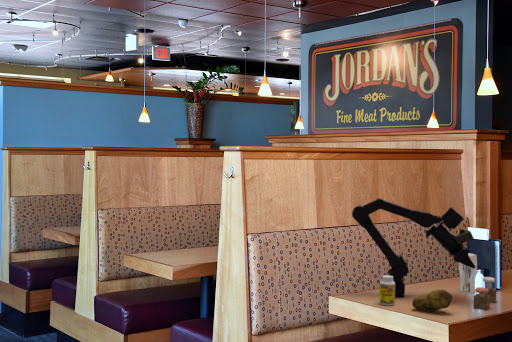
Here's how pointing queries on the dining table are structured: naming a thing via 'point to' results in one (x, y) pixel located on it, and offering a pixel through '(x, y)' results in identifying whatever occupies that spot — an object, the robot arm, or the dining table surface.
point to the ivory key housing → (492, 295)
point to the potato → (433, 301)
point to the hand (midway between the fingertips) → (474, 267)
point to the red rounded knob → (482, 291)
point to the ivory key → (488, 282)
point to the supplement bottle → (387, 290)
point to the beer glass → (468, 275)
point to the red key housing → (482, 302)
